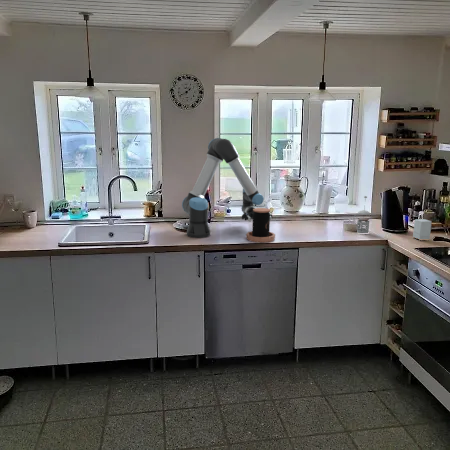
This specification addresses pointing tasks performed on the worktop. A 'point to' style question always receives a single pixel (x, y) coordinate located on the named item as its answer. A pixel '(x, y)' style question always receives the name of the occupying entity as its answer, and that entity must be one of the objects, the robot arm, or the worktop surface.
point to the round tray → (260, 239)
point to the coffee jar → (261, 222)
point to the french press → (359, 222)
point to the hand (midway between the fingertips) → (260, 219)
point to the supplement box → (422, 229)
